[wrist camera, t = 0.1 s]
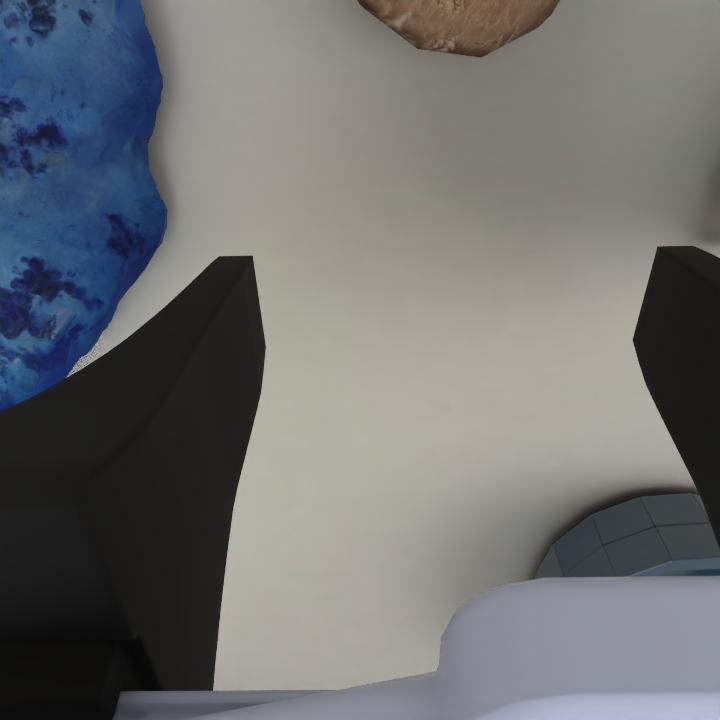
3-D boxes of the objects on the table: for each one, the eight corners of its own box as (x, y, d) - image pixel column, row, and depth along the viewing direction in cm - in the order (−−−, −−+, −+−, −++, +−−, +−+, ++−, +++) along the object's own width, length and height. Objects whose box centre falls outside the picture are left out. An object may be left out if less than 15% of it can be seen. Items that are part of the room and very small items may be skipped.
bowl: (633, 683, 34) (663, 765, 30) (482, 587, 31) (497, 665, 27) (817, 566, 30) (877, 644, 26) (665, 443, 27) (710, 512, 23)
